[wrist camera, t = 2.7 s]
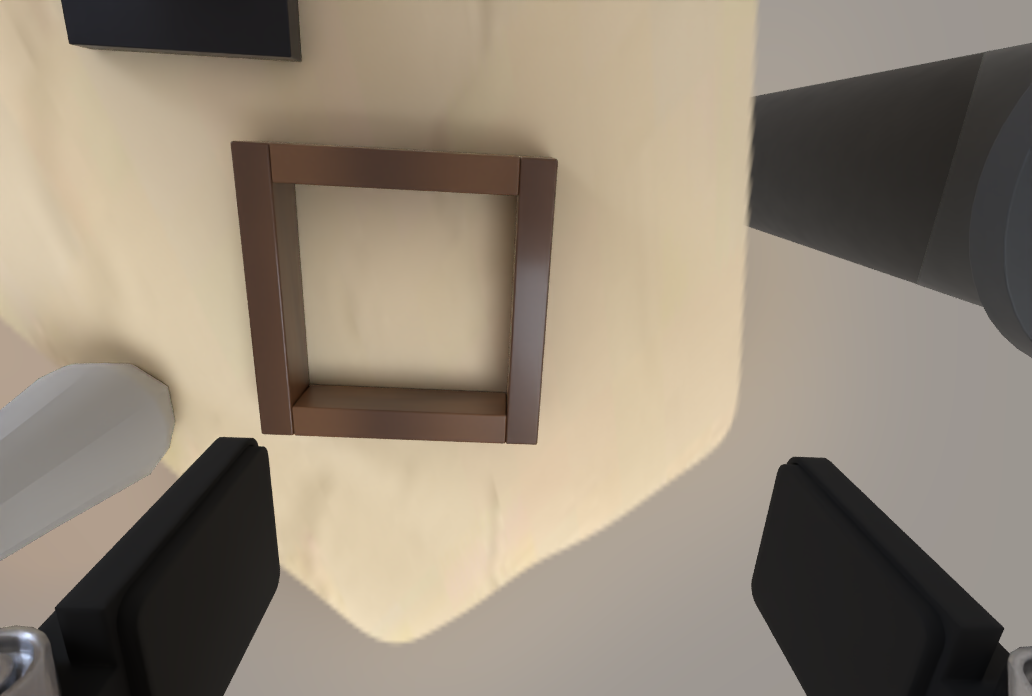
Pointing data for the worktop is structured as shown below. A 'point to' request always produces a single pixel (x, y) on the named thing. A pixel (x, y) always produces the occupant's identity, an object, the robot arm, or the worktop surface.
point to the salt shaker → (77, 445)
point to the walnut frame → (279, 296)
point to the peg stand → (187, 27)
